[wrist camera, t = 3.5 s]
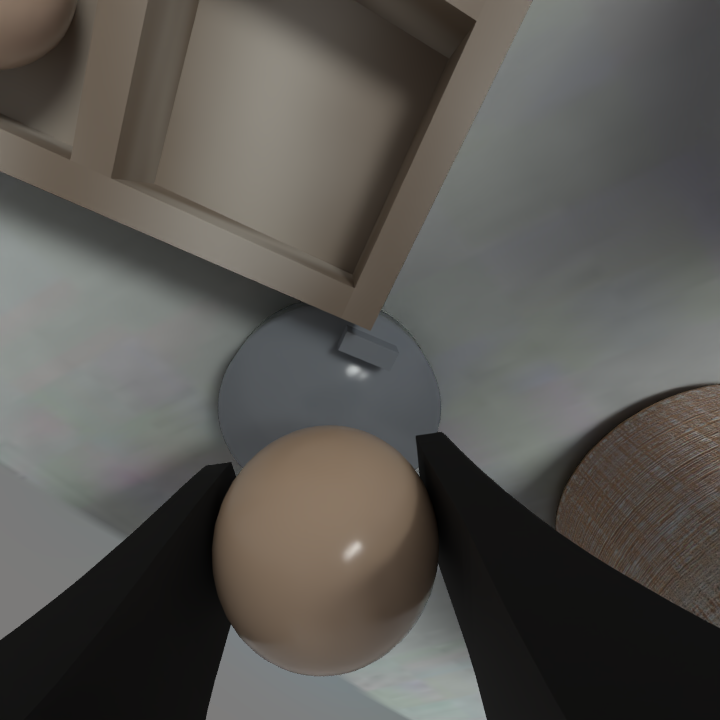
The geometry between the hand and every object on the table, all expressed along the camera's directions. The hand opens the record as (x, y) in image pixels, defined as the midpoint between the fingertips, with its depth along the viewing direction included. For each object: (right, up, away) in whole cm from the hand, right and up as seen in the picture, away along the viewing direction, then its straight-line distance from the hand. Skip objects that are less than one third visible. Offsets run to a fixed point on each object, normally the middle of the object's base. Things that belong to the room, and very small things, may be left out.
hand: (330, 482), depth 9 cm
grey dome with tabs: (0, +2, +4) cm, 5 cm away
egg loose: (0, 0, +1) cm, 1 cm away
